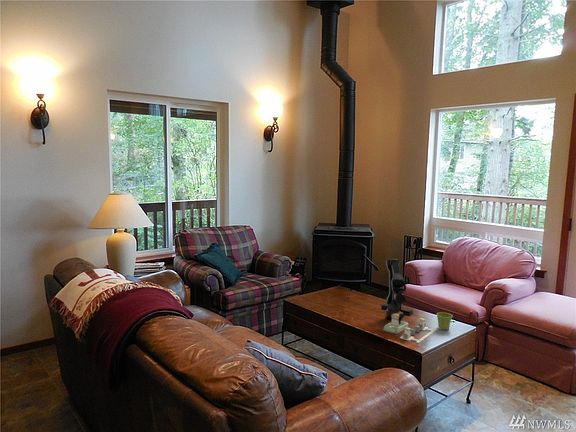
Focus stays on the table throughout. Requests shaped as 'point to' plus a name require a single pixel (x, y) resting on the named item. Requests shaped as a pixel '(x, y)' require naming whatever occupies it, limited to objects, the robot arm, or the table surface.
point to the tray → (395, 329)
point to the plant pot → (444, 320)
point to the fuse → (395, 320)
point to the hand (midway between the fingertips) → (396, 323)
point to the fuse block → (417, 328)
